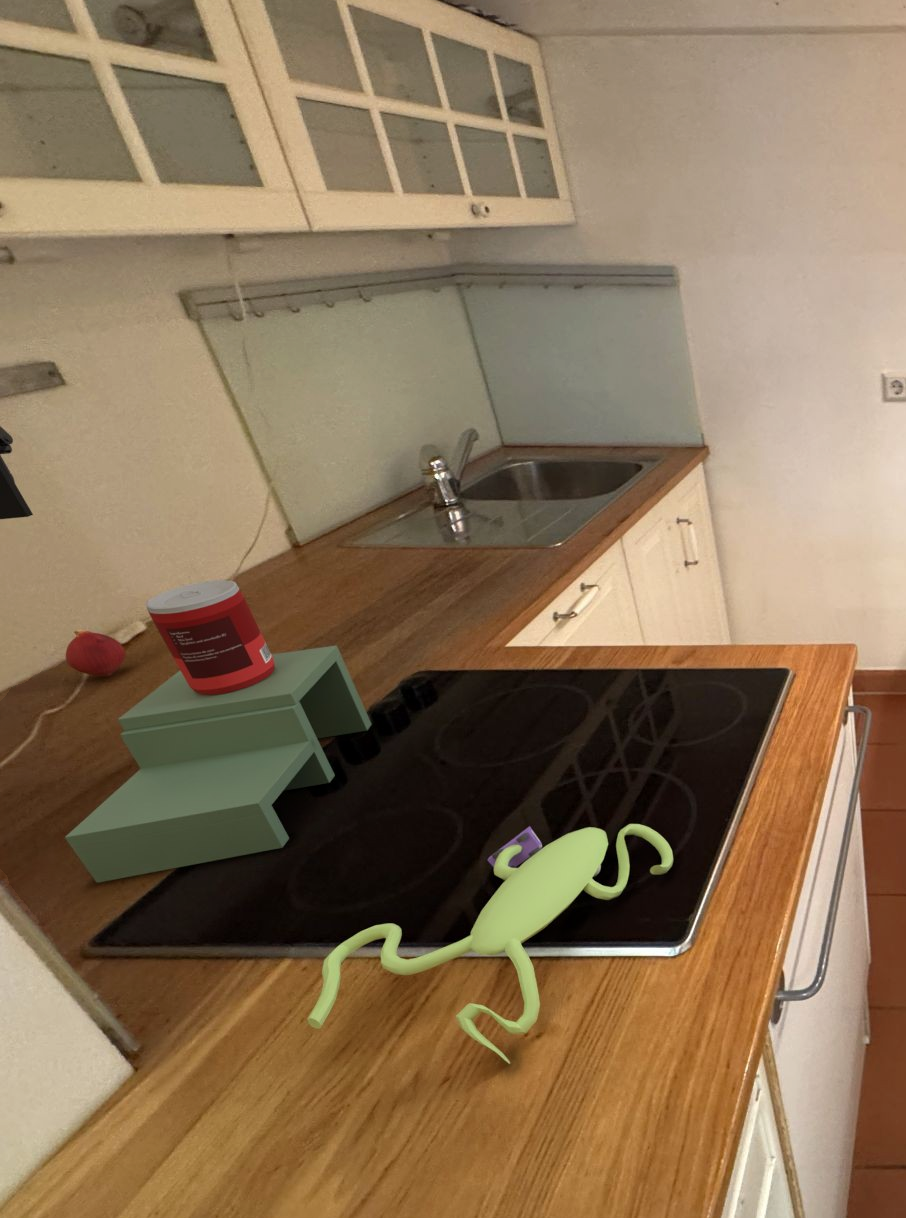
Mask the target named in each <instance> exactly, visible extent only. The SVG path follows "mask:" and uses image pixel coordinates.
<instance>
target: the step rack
mask: <svg viewBox="0 0 906 1218" xmlns="http://www.w3.org/2000/svg"><path fill="white" fill-rule="evenodd" d="M271 655H272V657H273V659H274V666H275V669H274V671H273V673H272V674H271V675H270V676H268V677H267V678H265V679H264V680H262V681H260V682H258V683H256V684H254V685H252V686H249V687H247V688H244V689H240V690H237V691H233V692H229V693H224V694H218V695H202V694H198V693H196V692H195V691H194V690H193V689H191V688H190V687H189V685H188V683H187V681H186V679H185V678H184V676H183V674H182V672H181V670H180V669H179V670H178V671H177V672H176V673H174V674H173V675H172V676H171V677H169V678H168V679H167V680H165V681H164V682H163V683H161V685H159V686H158V687H157V688H155V689H154V690H153V691H152V692H150V693H149V694H148V695H147V696H145V697H144V698H143V699H141V700H140V701H139V702H138V703H136V704H135V705H134V706H132V708H131V707H130V709H129V710H128V711H126V712H125V713H124V714H122V715H121V716H119V718H117V721H118V723H119V724H120V726H121V728H122V729H123V732H122V733H120V734H119V737H120V738H121V739H122V741H123V742H124V745H125V746H126V747H127V750H128V751H129V752H130V754H131V756H132V757H133V759H134V760H135V763H136V764H137V766H138V767H139V770H138V771H137V772H135V773H134V774H133V775H132V776H131V777H129V778H128V779H127V781H125V782H124V783H123V784H122V785H121V786H120V787H118V789H116V790H115V791H114V792H113V793H112V794H111V795H110V796H109V797H107V798H106V799H105V800H104V801H103V802H102V803H101V804H100V805H99V806H97V807H96V809H94V810H93V811H92V812H91V813H90V814H89V815H87V816H86V817H85V818H84V819H83V820H82V821H81V822H80V823H78V825H76V826H75V827H74V828H73V829H72V830H71V831H70V832H68V834H66V835H65V837H64V838H65V840H66V842H67V843H68V844H69V846H70V847H71V848H72V849H73V851H74V853H75V854H76V855H77V857H78V858H79V860H80V862H81V863H82V864H83V866H84V867H85V868H86V870H87V871H88V873H89V874H90V875H91V877H92V878H93V880H94V881H95V883H96V884H99V883H104V882H105V883H106V882H110V881H114V880H119V879H124V878H131V877H136V876H140V875H141V876H142V875H146V874H147V875H148V874H151V873H157V872H162V871H166V870H173V869H178V868H183V867H188V866H193V865H198V864H204V863H208V862H214V861H220V860H225V859H230V858H235V857H242V856H246V855H252V854H257V853H263V852H267V851H272V850H278V849H282V848H284V846H285V845H286V843H287V842H288V841H289V840H290V837H289V835H288V833H287V831H286V830H285V828H284V826H283V824H282V822H281V821H280V819H279V817H278V814H277V812H276V811H275V809H274V806H273V804H274V803H275V801H276V800H277V799H278V797H279V796H280V795H281V794H282V793H283V792H285V791H289V790H297V789H303V788H308V787H314V786H320V785H326V784H330V783H331V781H332V780H333V779H334V778H335V776H336V775H335V772H334V770H333V768H332V765H331V764H330V763H329V760H328V757H327V756H326V754H325V751H324V749H323V748H322V745H321V743H320V741H319V739H324V738H330V737H336V736H341V735H349V734H354V733H361V732H366V731H368V730H369V729H370V727H371V726H372V722H371V719H370V717H369V715H368V713H367V711H366V708H365V706H364V704H363V702H362V699H361V697H360V694H359V693H358V691H357V687H356V685H355V684H354V681H353V679H352V676H351V675H350V672H349V670H348V667H347V666H346V663H345V661H344V659H343V656H342V654H341V652H340V649H339V647H338V645H329V646H323V647H315V648H308V649H301V650H293V651H287V652H279V653H278V652H277V653H271Z"/></svg>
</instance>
